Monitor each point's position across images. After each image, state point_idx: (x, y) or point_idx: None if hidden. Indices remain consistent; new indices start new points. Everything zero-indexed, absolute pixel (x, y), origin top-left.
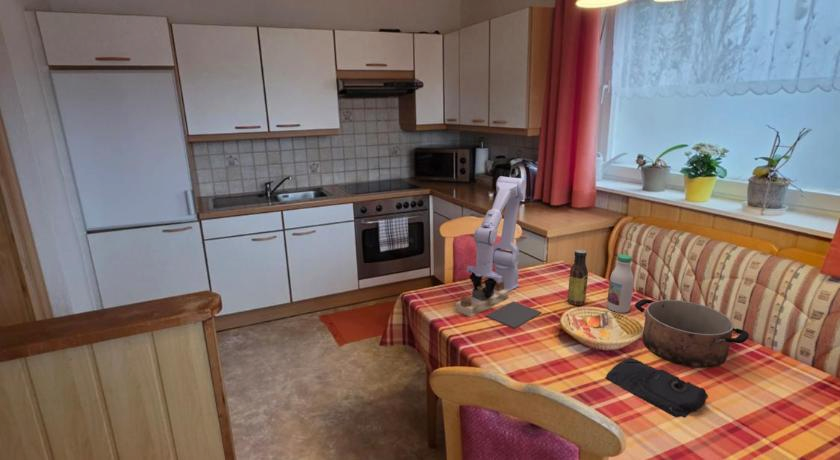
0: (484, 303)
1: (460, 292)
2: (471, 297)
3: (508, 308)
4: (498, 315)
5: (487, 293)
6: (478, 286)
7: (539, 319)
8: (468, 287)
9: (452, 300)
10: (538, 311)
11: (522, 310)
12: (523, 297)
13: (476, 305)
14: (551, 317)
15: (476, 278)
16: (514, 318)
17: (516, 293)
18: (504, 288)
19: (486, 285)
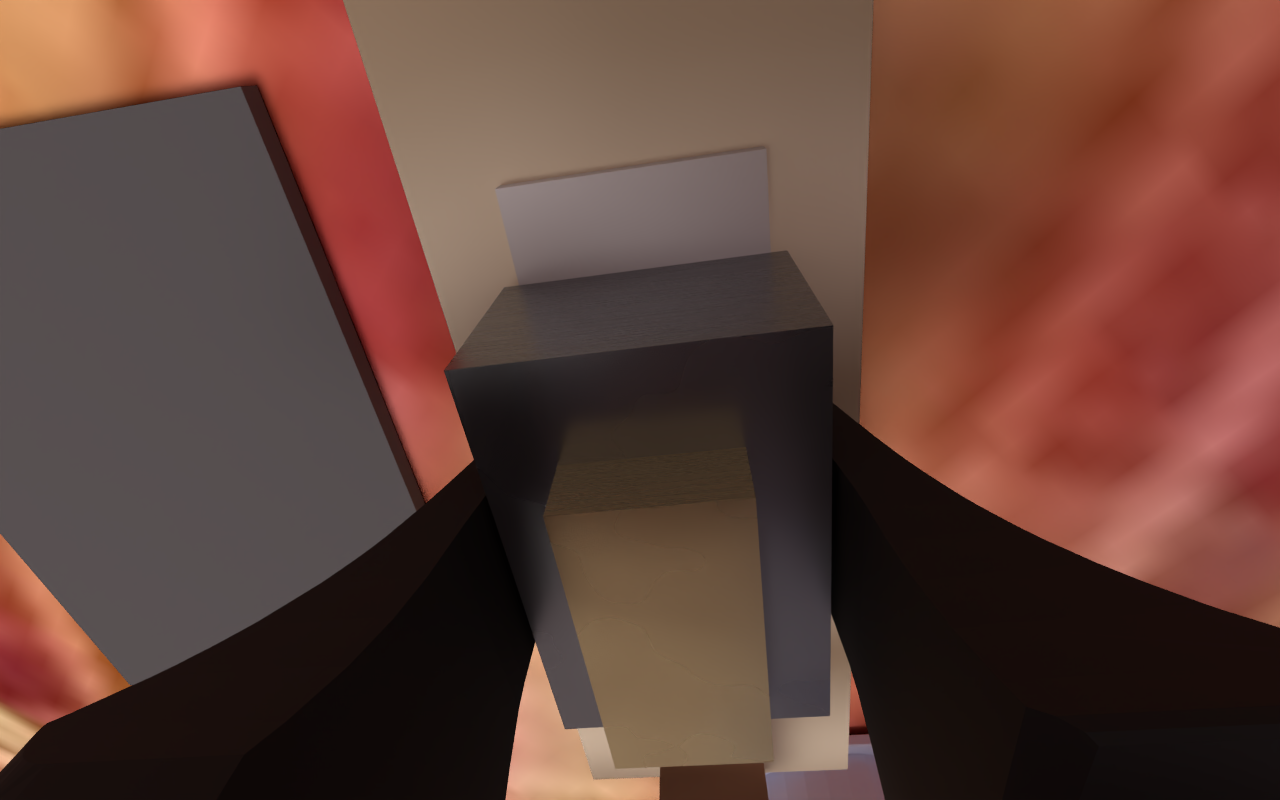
0: (439, 280)
1: (1238, 386)
2: (800, 236)
3: (337, 519)
4: (172, 269)
5: (447, 485)
6: (730, 516)
7: (8, 581)
8: (1206, 573)
9: (1208, 15)
10: (152, 675)
11: (225, 592)
12: (532, 769)
13: (386, 15)
14: (34, 674)
15: (956, 768)
16: (21, 384)
17: (643, 782)
18: (772, 786)
19: (310, 643)
